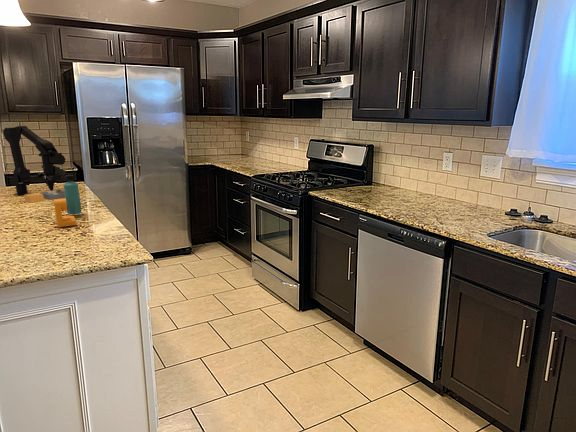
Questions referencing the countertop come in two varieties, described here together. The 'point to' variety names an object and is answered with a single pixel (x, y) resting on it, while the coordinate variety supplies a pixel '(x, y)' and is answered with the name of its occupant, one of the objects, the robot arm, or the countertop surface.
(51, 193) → the breaker button
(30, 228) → the countertop surface
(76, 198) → the beverage bottle
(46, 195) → the panel
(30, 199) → the cap
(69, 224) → the bracket
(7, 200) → the countertop surface
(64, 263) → the countertop surface
